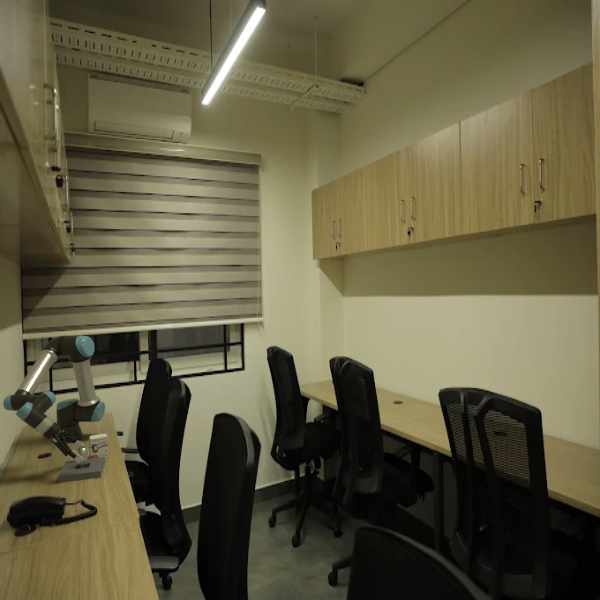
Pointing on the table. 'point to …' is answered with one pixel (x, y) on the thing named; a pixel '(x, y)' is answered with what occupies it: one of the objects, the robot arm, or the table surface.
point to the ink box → (98, 446)
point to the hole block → (82, 470)
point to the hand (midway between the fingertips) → (83, 455)
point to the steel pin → (83, 453)
